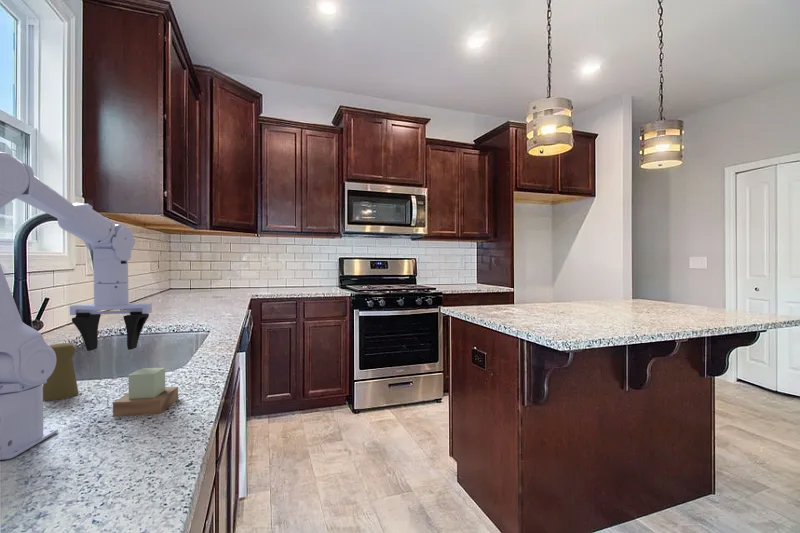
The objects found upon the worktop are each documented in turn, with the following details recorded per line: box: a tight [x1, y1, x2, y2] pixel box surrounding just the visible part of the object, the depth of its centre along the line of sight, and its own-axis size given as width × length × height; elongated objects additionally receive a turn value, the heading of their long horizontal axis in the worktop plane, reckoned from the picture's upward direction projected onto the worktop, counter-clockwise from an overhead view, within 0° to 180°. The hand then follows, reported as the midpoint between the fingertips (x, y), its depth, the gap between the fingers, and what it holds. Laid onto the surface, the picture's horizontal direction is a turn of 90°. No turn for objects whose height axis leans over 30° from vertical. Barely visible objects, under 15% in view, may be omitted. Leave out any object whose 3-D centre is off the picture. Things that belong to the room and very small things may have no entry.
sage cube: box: [127, 367, 166, 399], centre depth 76 cm, size 4×4×4 cm
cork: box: [43, 342, 79, 402], centre depth 83 cm, size 6×6×11 cm
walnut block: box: [112, 386, 179, 418], centre depth 76 cm, size 8×8×3 cm
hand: (112, 349), depth 81 cm, fingers open, 7 cm apart
